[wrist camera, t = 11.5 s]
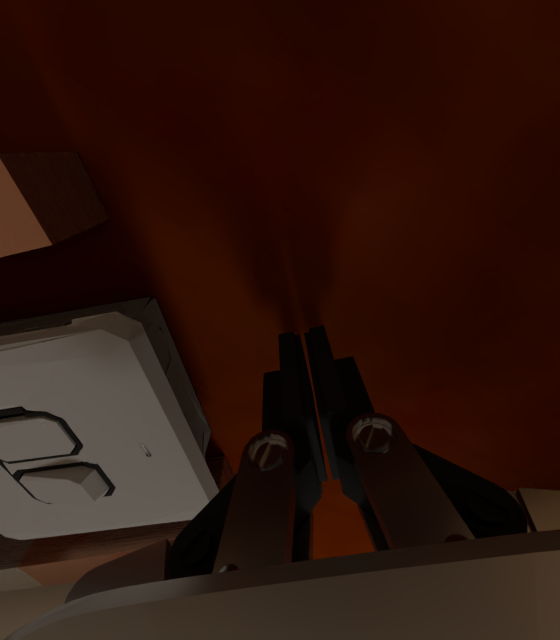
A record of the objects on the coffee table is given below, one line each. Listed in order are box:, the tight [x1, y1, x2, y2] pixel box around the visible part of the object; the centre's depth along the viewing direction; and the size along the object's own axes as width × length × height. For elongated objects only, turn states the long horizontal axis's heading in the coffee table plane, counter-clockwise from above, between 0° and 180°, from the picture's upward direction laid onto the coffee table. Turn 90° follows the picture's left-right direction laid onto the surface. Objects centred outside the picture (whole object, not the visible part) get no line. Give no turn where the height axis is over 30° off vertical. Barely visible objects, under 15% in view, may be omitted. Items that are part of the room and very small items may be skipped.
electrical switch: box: [0, 297, 219, 540], centre depth 12 cm, size 9×5×9 cm
